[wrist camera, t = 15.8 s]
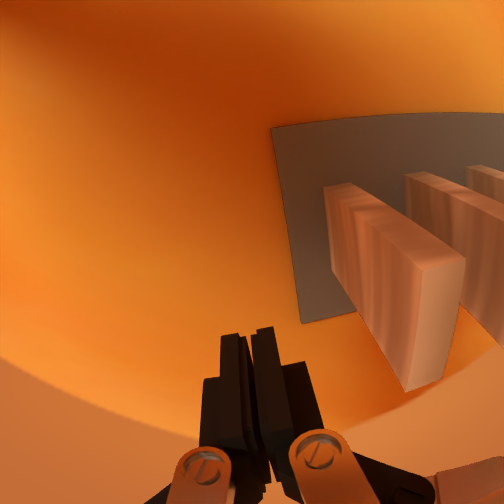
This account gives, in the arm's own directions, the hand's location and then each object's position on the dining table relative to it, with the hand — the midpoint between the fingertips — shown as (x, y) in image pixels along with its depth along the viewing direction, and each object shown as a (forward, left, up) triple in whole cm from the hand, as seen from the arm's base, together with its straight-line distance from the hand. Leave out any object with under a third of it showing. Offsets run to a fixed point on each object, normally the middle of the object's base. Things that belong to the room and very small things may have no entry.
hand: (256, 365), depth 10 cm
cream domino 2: (+11, +1, -9) cm, 14 cm away
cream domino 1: (+6, +1, -9) cm, 11 cm away
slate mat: (+17, +1, -9) cm, 19 cm away
